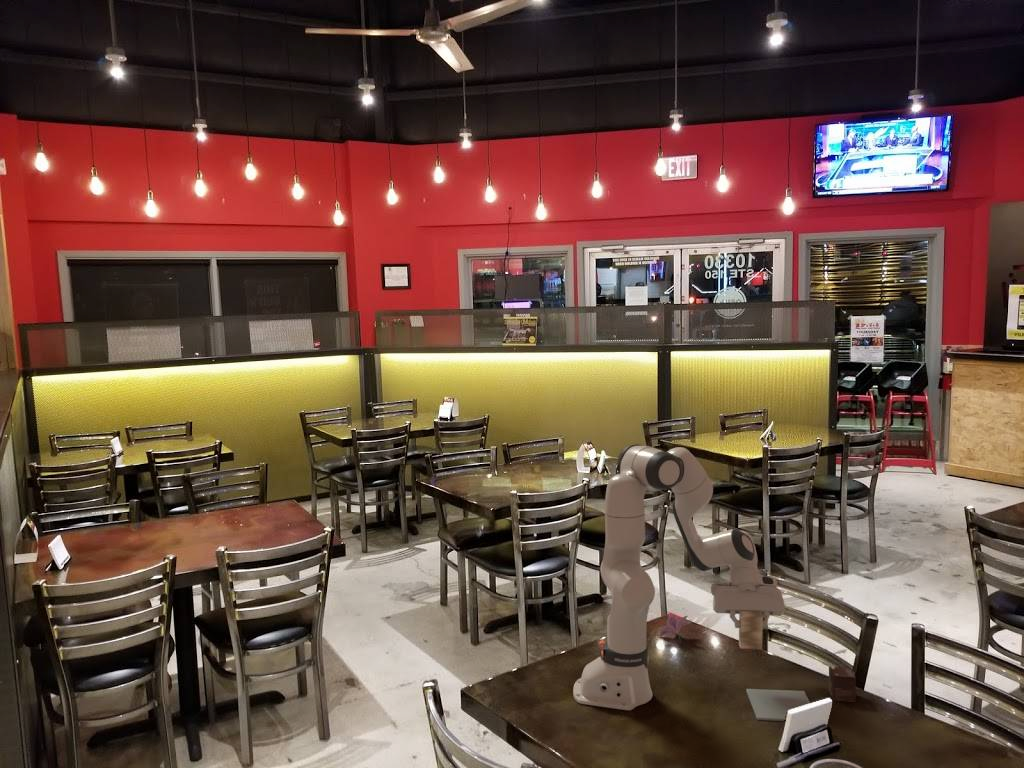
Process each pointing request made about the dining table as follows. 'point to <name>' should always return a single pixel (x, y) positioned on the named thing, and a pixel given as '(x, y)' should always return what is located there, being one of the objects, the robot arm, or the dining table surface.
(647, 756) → the dining table surface
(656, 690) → the dining table surface
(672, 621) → the lily
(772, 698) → the placemat
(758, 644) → the birch slab
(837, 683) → the box
